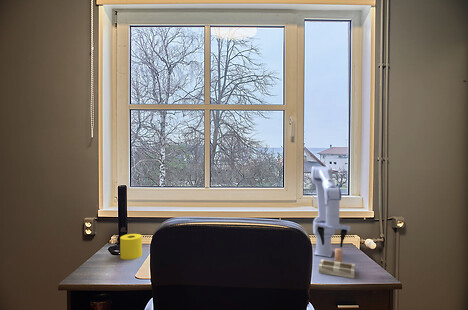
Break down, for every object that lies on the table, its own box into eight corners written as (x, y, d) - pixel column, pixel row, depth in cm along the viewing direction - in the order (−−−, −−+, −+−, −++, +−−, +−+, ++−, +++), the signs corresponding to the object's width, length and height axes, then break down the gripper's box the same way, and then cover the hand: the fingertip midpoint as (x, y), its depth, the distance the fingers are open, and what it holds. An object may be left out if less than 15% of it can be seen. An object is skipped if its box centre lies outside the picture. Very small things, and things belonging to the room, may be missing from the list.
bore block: (321, 265, 134) (321, 259, 134) (354, 270, 129) (354, 264, 129) (318, 272, 127) (318, 265, 127) (354, 278, 121) (354, 271, 121)
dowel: (335, 262, 138) (335, 247, 137) (342, 264, 136) (342, 248, 136) (334, 265, 135) (334, 250, 135) (341, 266, 133) (342, 251, 133)
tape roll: (125, 252, 152) (125, 233, 152) (144, 252, 151) (144, 233, 151) (116, 259, 142) (116, 239, 142) (137, 259, 141) (137, 239, 141)
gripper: (314, 215, 131) (313, 245, 132) (349, 218, 125) (349, 250, 126) (316, 211, 138) (316, 241, 138) (350, 214, 132) (350, 245, 132)
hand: (332, 245), depth 132 cm, fingers open, 7 cm apart
